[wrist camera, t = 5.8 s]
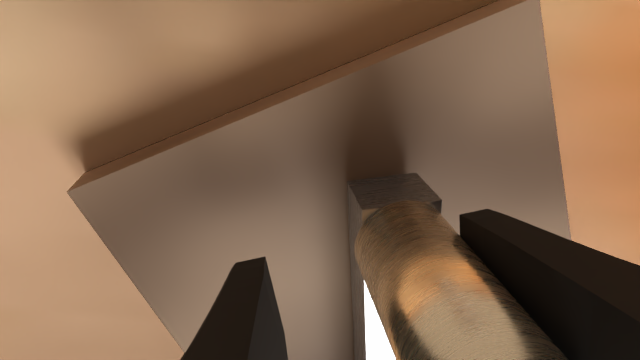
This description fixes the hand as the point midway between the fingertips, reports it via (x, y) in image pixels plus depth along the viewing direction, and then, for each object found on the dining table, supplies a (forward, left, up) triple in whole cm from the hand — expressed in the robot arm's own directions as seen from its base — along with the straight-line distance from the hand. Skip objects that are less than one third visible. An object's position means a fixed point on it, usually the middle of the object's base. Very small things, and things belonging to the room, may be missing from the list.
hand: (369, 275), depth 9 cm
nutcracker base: (+2, +6, -4) cm, 8 cm away
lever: (+3, +6, -3) cm, 7 cm away
